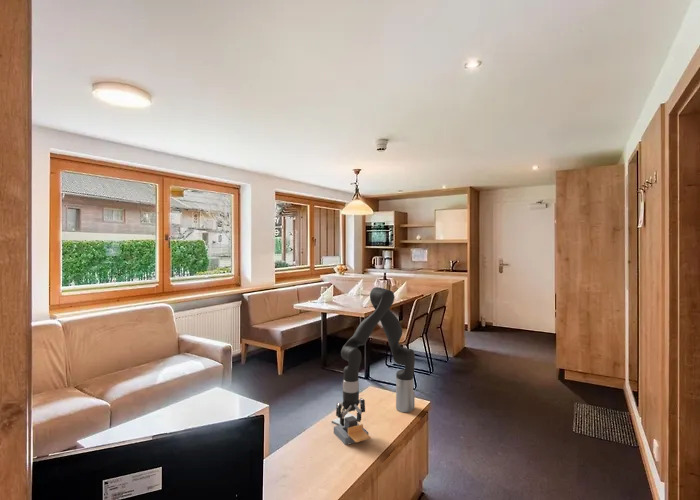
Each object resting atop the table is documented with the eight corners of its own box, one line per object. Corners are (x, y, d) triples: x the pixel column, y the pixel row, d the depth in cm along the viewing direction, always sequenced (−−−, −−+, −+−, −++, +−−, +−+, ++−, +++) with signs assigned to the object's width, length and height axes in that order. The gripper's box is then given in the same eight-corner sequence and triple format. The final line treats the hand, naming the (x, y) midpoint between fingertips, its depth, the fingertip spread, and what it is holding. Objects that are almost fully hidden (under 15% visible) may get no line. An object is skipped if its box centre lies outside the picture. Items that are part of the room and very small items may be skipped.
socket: (355, 427, 181) (355, 421, 181) (368, 438, 171) (368, 432, 171) (333, 433, 176) (333, 426, 176) (345, 444, 165) (345, 438, 165)
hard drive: (343, 425, 181) (359, 417, 190) (331, 420, 186) (347, 412, 195) (343, 429, 181) (359, 420, 190) (331, 423, 186) (347, 415, 195)
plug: (352, 432, 176) (352, 415, 176) (357, 436, 172) (357, 419, 172) (344, 434, 174) (344, 417, 174) (349, 439, 170) (349, 421, 170)
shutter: (362, 430, 171) (362, 424, 171) (370, 438, 164) (370, 431, 164) (347, 434, 168) (347, 427, 168) (355, 442, 161) (355, 435, 161)
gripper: (340, 394, 166) (340, 430, 167) (368, 389, 173) (367, 423, 173) (333, 388, 173) (333, 423, 173) (360, 383, 180) (360, 416, 180)
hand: (350, 423), depth 173 cm, fingers open, 8 cm apart
